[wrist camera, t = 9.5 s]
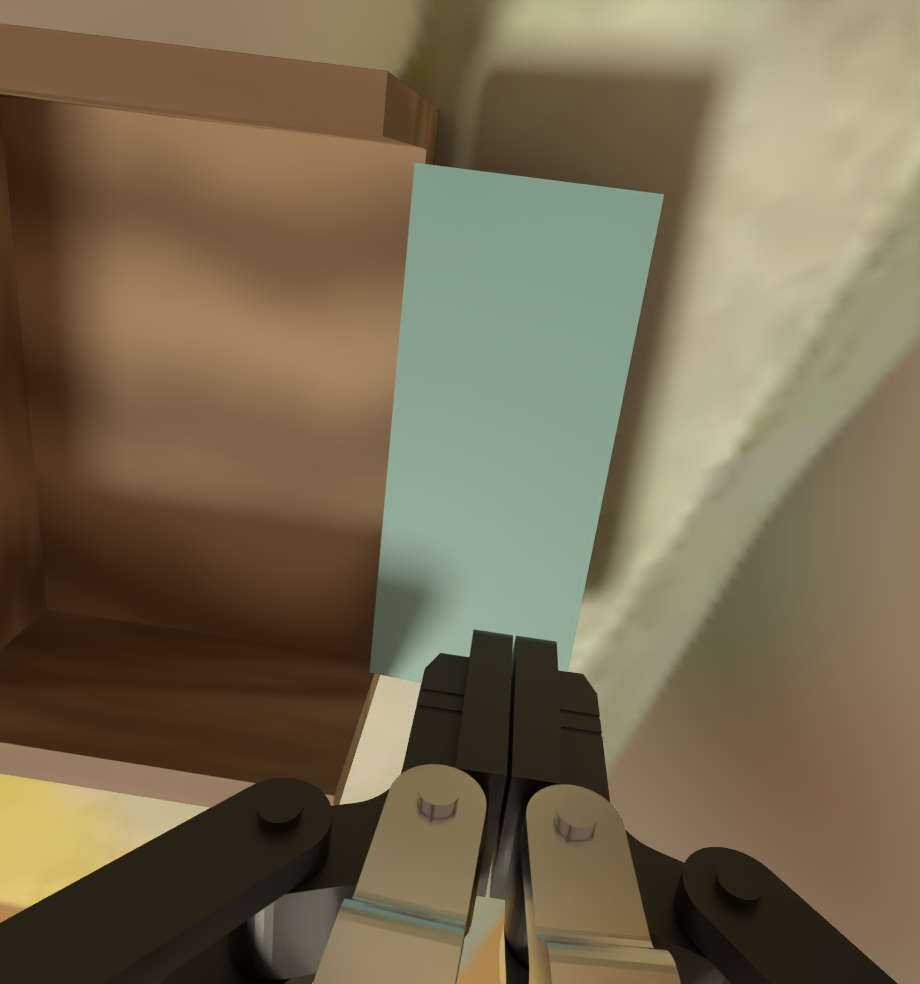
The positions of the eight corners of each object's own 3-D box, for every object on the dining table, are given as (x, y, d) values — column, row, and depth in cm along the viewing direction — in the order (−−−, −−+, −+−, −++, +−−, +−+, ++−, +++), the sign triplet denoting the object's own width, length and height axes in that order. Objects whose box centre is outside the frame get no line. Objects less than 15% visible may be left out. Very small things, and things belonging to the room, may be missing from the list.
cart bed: (-2, 55, 25) (-276, -11, 16) (438, 109, 24) (387, 71, 16) (49, 605, 32) (-122, 753, 24) (385, 657, 32) (331, 827, 23)
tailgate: (414, 162, 22) (664, 194, 21) (431, 165, 24) (659, 193, 23) (369, 672, 28) (559, 712, 27) (386, 639, 30) (563, 675, 29)
